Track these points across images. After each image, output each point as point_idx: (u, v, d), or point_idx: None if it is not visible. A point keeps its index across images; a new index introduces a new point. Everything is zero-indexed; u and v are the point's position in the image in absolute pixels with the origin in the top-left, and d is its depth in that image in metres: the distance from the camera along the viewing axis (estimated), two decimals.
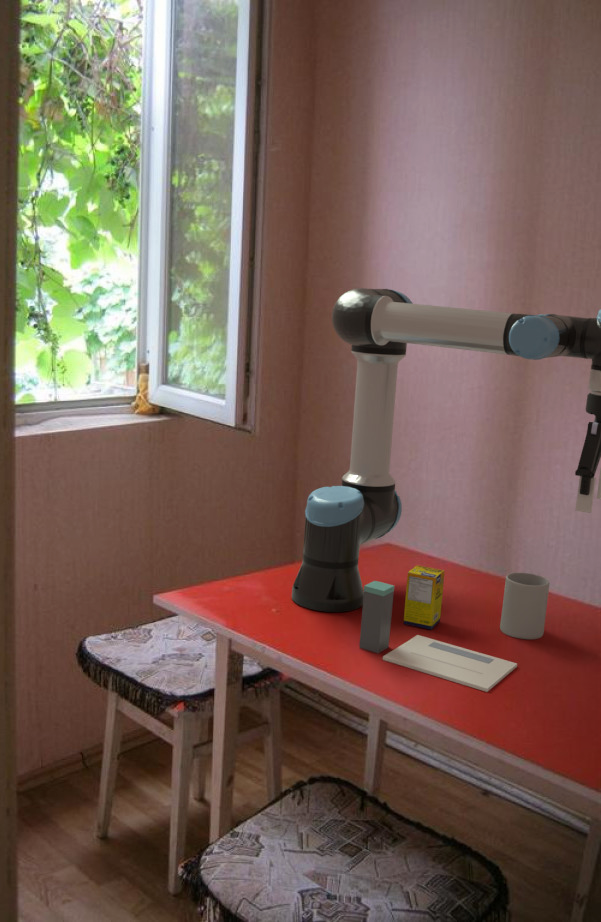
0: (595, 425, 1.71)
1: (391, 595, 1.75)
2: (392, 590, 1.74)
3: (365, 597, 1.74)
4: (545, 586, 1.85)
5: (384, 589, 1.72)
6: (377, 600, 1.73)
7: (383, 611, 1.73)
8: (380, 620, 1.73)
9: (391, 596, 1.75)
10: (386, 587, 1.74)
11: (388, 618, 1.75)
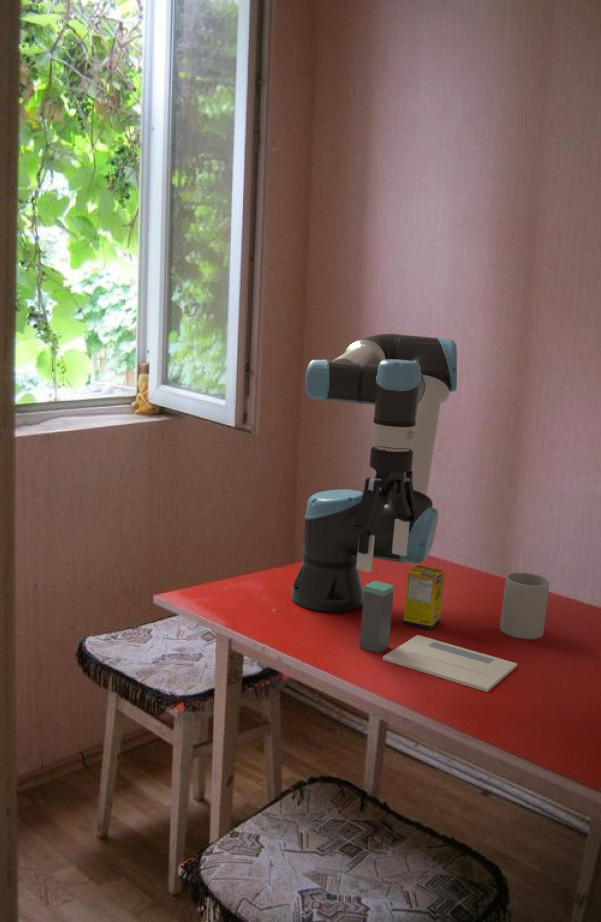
0: (371, 482, 1.65)
1: (391, 595, 1.75)
2: (392, 590, 1.74)
3: (365, 597, 1.74)
4: (545, 586, 1.85)
5: (384, 589, 1.72)
6: (377, 600, 1.73)
7: (383, 611, 1.73)
8: (381, 620, 1.73)
9: (391, 596, 1.75)
10: (386, 587, 1.74)
11: (388, 618, 1.75)
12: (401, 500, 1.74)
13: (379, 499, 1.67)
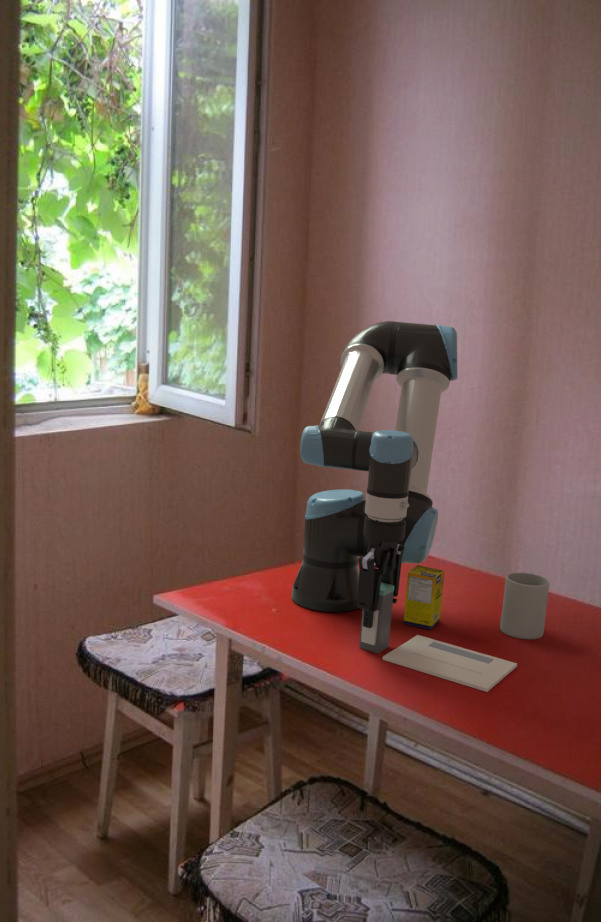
0: (364, 563, 1.68)
1: (391, 595, 1.75)
2: (392, 590, 1.74)
3: None
4: (545, 586, 1.85)
5: (384, 589, 1.72)
6: None
7: (383, 611, 1.73)
8: (380, 620, 1.73)
9: (391, 596, 1.75)
10: (386, 587, 1.74)
11: (388, 618, 1.75)
12: (389, 573, 1.75)
13: (376, 572, 1.71)
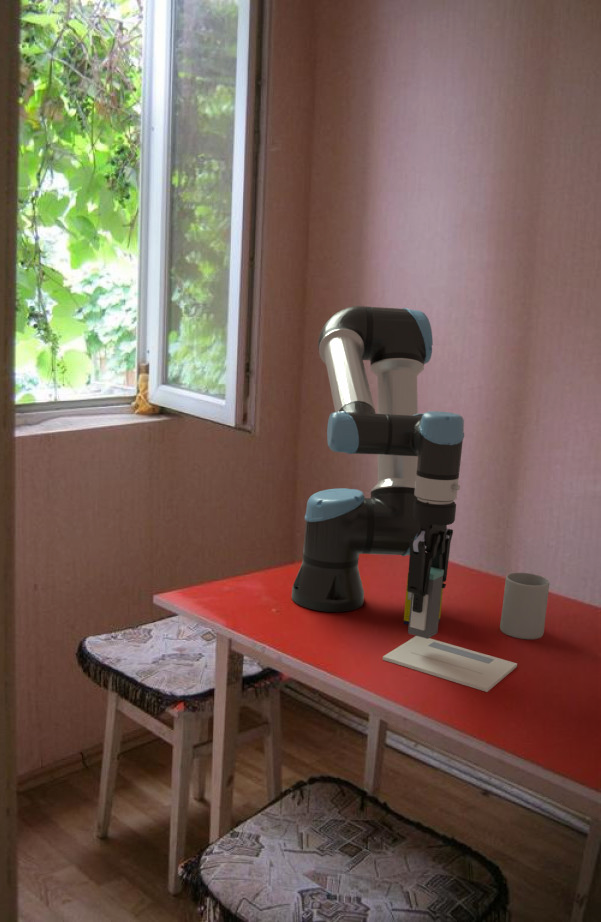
0: (415, 545, 1.65)
1: (440, 579, 1.72)
2: (441, 574, 1.72)
3: None
4: (545, 586, 1.85)
5: (434, 573, 1.69)
6: None
7: (433, 595, 1.70)
8: (430, 605, 1.70)
9: (440, 581, 1.72)
10: (436, 571, 1.71)
11: (437, 603, 1.72)
12: (438, 557, 1.72)
13: (426, 556, 1.69)
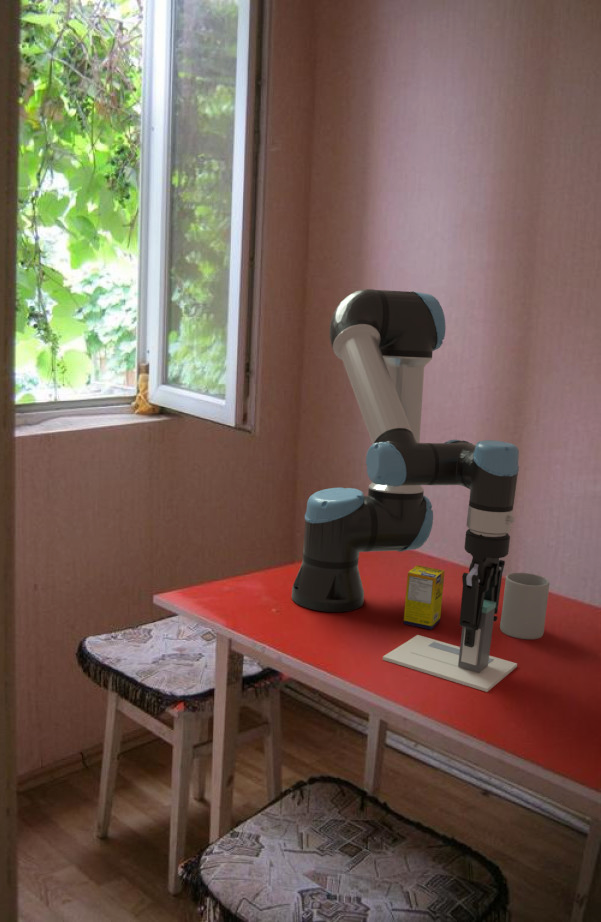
0: (469, 579, 1.60)
1: (493, 612, 1.67)
2: (494, 607, 1.67)
3: None
4: (545, 586, 1.85)
5: (487, 606, 1.65)
6: None
7: (485, 629, 1.65)
8: (482, 639, 1.65)
9: (492, 613, 1.67)
10: (488, 603, 1.66)
11: (489, 636, 1.68)
12: (490, 590, 1.67)
13: (478, 589, 1.64)
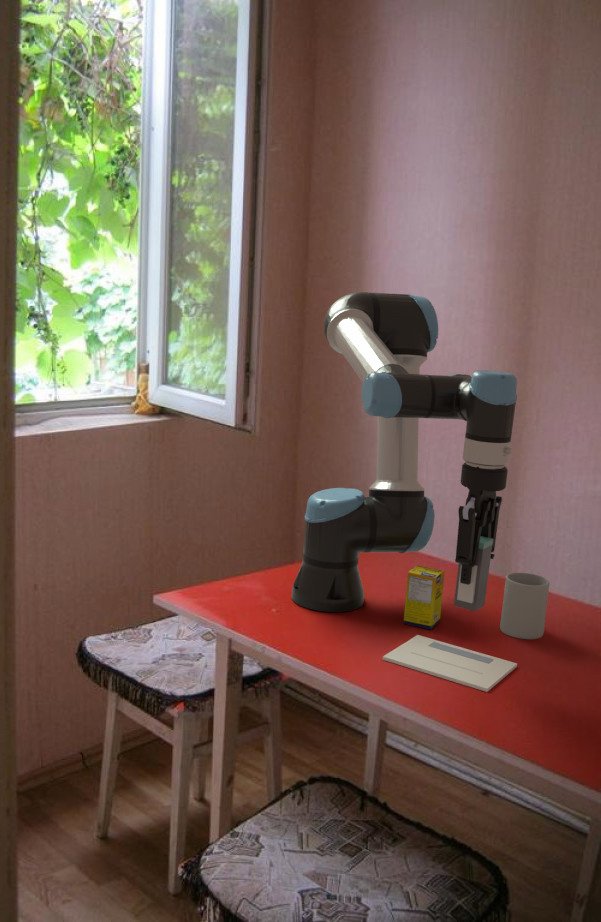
0: (465, 512, 1.55)
1: (490, 549, 1.62)
2: (491, 543, 1.62)
3: None
4: (545, 586, 1.85)
5: (484, 542, 1.59)
6: None
7: (482, 565, 1.60)
8: (479, 576, 1.60)
9: (489, 550, 1.62)
10: (485, 540, 1.61)
11: (486, 574, 1.62)
12: (487, 526, 1.62)
13: (475, 524, 1.59)
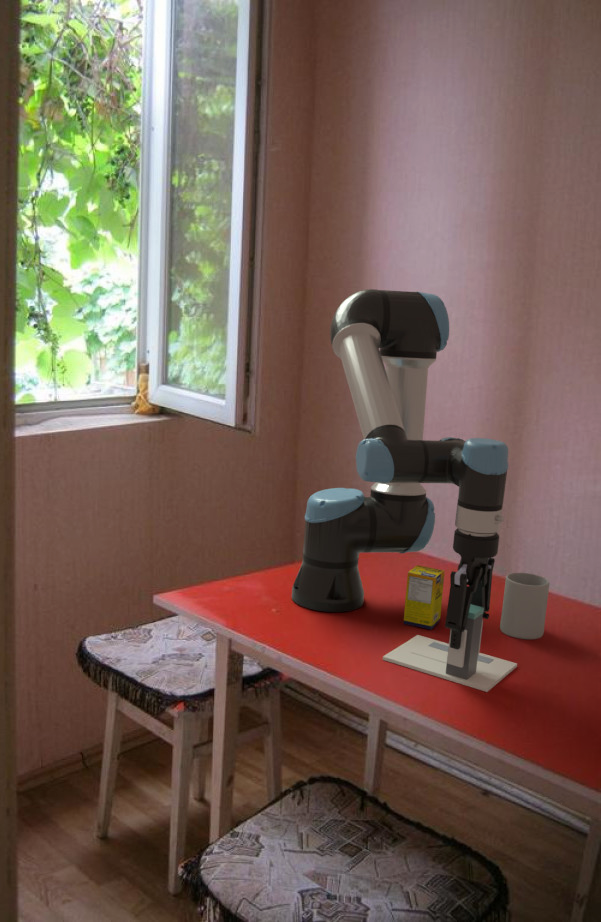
0: (457, 578, 1.57)
1: (480, 618, 1.64)
2: (482, 612, 1.64)
3: None
4: (545, 586, 1.85)
5: (474, 612, 1.62)
6: (467, 623, 1.62)
7: (473, 635, 1.62)
8: (470, 645, 1.62)
9: (480, 619, 1.64)
10: (476, 609, 1.63)
11: (477, 642, 1.65)
12: (480, 589, 1.64)
13: (466, 589, 1.60)
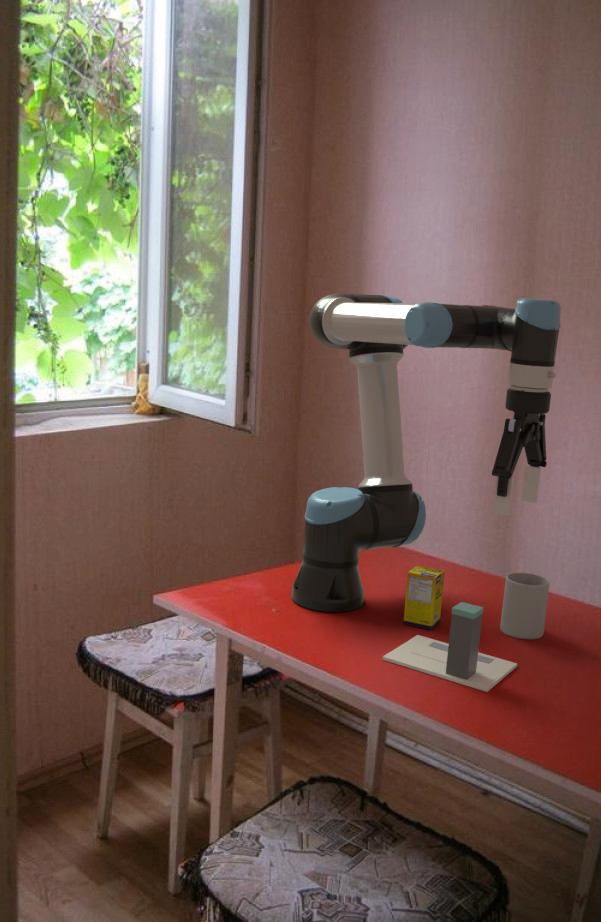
0: (512, 423, 1.61)
1: (480, 618, 1.64)
2: (481, 612, 1.64)
3: (453, 620, 1.63)
4: (545, 586, 1.85)
5: (474, 612, 1.62)
6: (467, 623, 1.62)
7: (473, 635, 1.62)
8: (470, 645, 1.62)
9: (480, 619, 1.64)
10: (476, 609, 1.63)
11: (477, 642, 1.65)
12: (535, 444, 1.70)
13: (517, 441, 1.64)
